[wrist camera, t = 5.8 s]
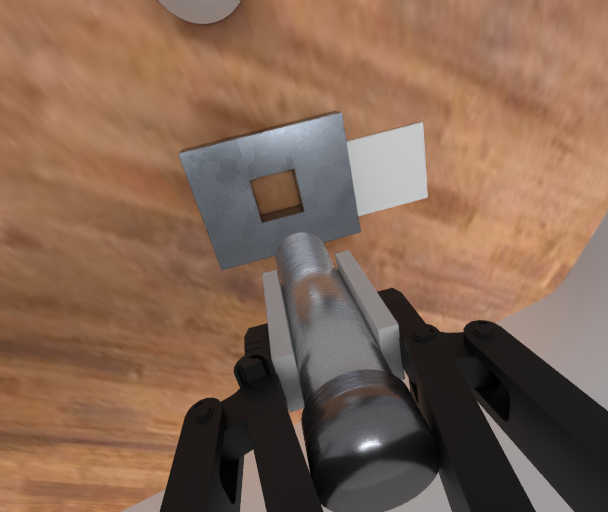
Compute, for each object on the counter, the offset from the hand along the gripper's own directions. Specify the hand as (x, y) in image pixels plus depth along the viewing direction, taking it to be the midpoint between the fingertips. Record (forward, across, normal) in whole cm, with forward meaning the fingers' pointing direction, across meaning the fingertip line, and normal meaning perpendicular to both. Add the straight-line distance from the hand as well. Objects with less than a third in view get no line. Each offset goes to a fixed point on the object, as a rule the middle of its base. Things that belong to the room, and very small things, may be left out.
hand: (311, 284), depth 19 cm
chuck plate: (+20, 0, 0) cm, 20 cm away
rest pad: (+20, +12, -1) cm, 23 cm away
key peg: (+4, 0, 0) cm, 4 cm away
